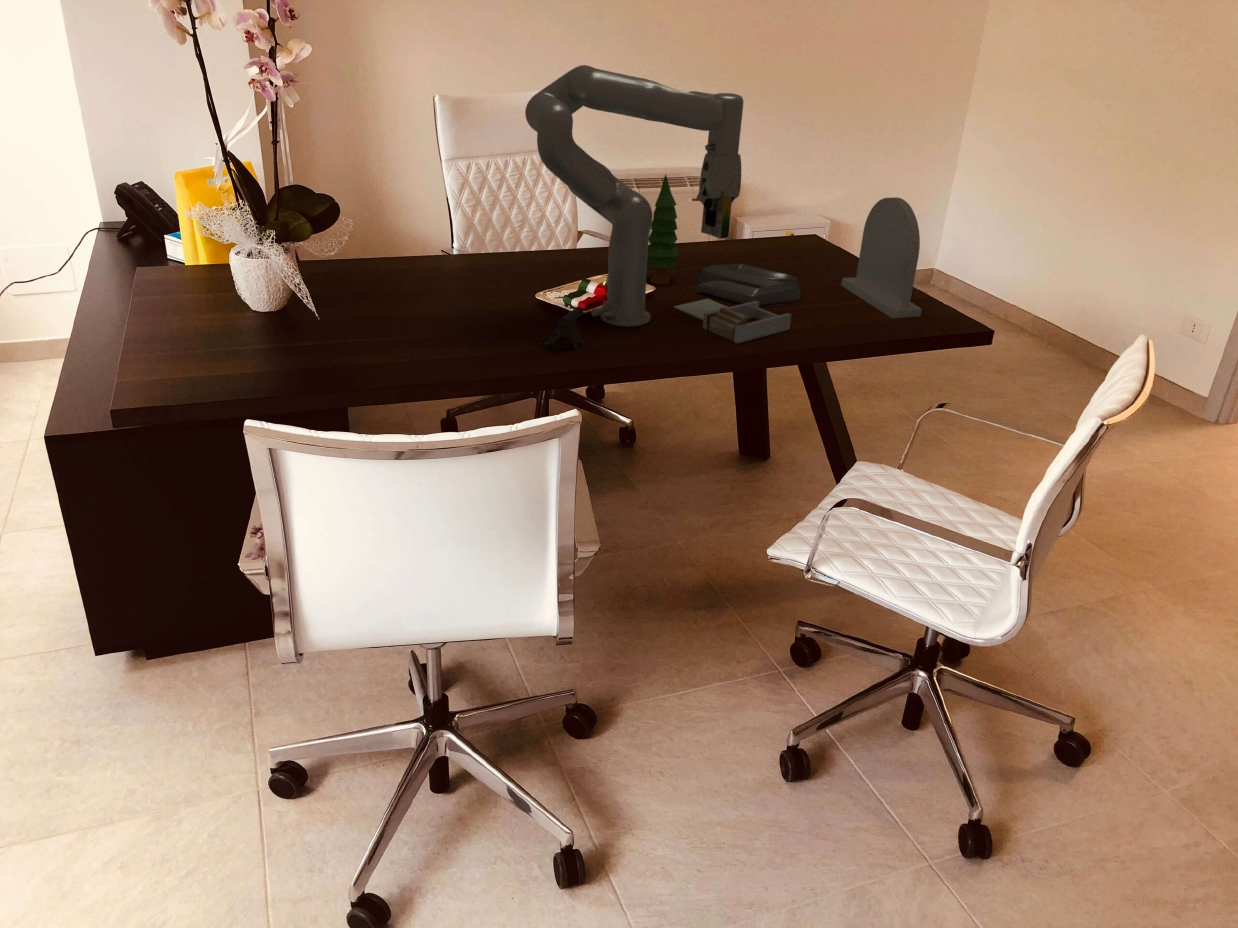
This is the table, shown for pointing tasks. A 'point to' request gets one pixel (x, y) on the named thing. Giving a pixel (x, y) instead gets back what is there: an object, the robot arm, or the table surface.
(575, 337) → the portable electronic device stand
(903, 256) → the gray tombstone
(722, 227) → the crayon box
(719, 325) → the offcut stack
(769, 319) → the rack
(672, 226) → the decorative tree
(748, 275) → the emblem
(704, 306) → the mat
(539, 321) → the table surface
